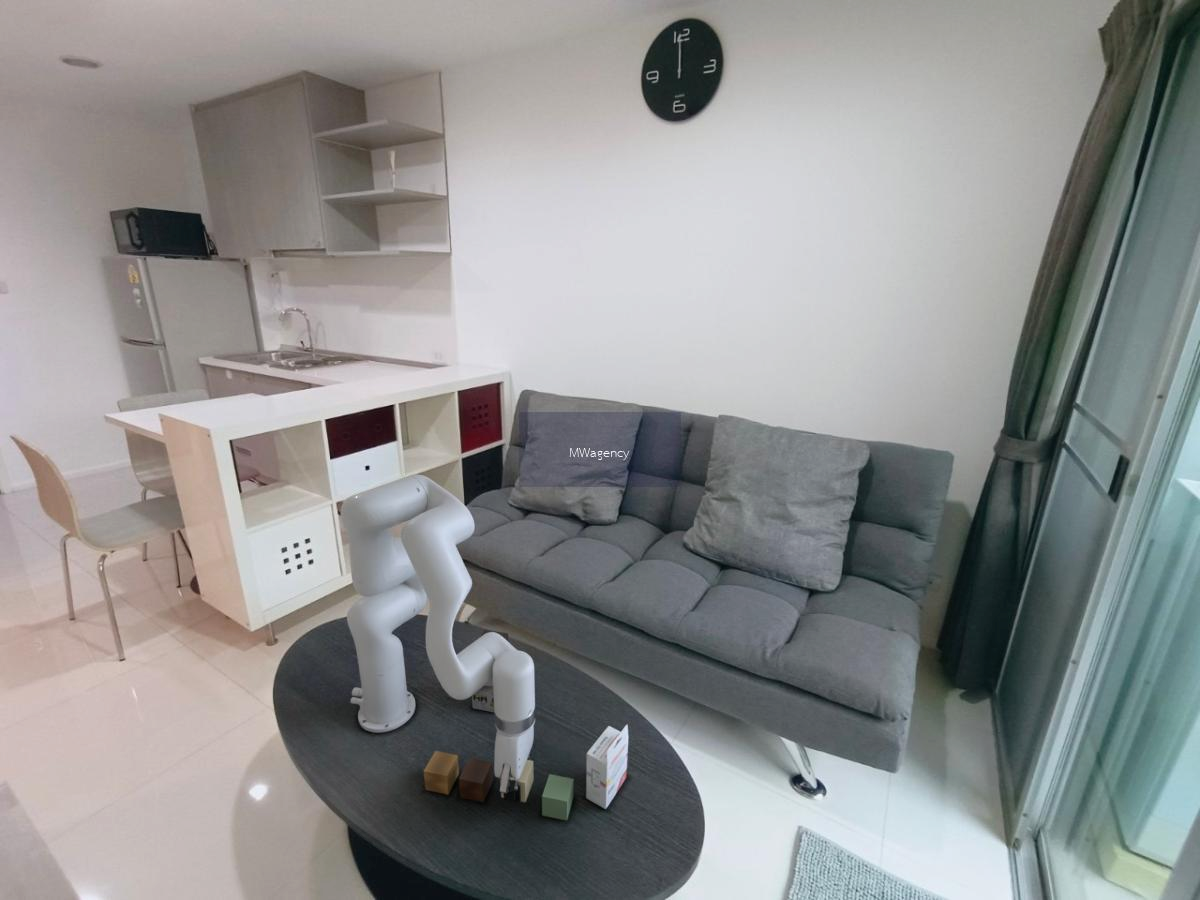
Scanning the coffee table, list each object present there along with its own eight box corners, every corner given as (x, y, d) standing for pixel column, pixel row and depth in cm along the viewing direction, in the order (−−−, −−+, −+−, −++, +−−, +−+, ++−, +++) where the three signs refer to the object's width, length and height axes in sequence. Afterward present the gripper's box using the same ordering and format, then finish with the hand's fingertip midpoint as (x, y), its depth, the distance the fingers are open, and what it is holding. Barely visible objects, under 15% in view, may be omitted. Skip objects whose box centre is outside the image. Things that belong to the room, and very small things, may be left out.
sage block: (541, 815, 106) (541, 796, 105) (549, 792, 111) (549, 773, 109) (567, 820, 105) (567, 801, 104) (573, 797, 110) (573, 778, 108)
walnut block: (460, 797, 109) (458, 778, 108) (470, 775, 114) (469, 757, 112) (483, 802, 108) (482, 783, 107) (493, 780, 113) (492, 762, 111)
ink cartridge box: (606, 767, 117) (609, 712, 112) (626, 778, 114) (630, 723, 110) (584, 798, 110) (586, 741, 105) (605, 811, 107) (608, 753, 103)
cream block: (501, 797, 107) (500, 777, 105) (510, 775, 112) (509, 756, 110) (525, 802, 106) (525, 782, 104) (533, 780, 111) (533, 760, 109)
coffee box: (497, 713, 130) (495, 657, 125) (471, 708, 131) (468, 652, 126) (510, 686, 138) (509, 632, 133) (486, 681, 139) (484, 628, 134)
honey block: (425, 789, 111) (423, 771, 109) (437, 768, 115) (435, 750, 114) (448, 794, 110) (446, 776, 108) (459, 773, 114) (458, 755, 113)
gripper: (511, 679, 112) (514, 749, 117) (477, 747, 96) (482, 824, 101) (547, 685, 110) (548, 755, 116) (518, 755, 94) (521, 832, 100)
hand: (517, 786), depth 109 cm, fingers closed on cream block, 5 cm apart
